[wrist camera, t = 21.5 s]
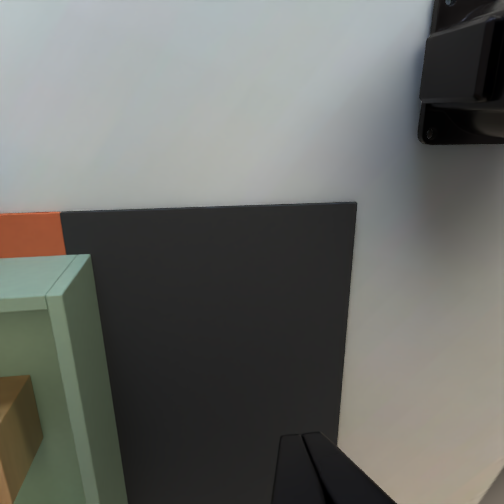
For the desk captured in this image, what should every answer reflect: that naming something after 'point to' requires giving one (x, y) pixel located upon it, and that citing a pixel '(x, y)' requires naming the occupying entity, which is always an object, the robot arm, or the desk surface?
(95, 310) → the open storage box
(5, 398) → the beech block
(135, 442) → the placemat
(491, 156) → the desk surface
